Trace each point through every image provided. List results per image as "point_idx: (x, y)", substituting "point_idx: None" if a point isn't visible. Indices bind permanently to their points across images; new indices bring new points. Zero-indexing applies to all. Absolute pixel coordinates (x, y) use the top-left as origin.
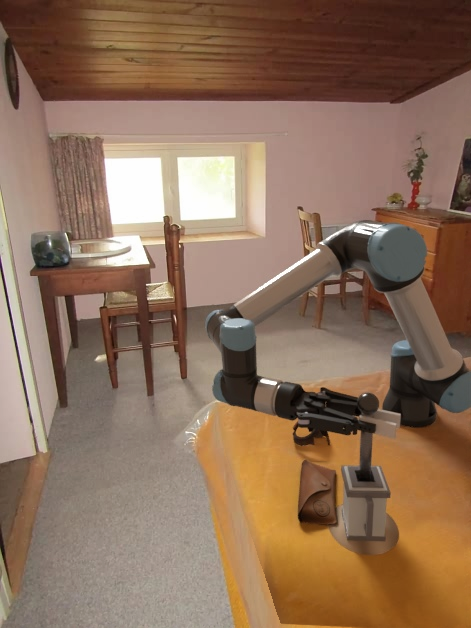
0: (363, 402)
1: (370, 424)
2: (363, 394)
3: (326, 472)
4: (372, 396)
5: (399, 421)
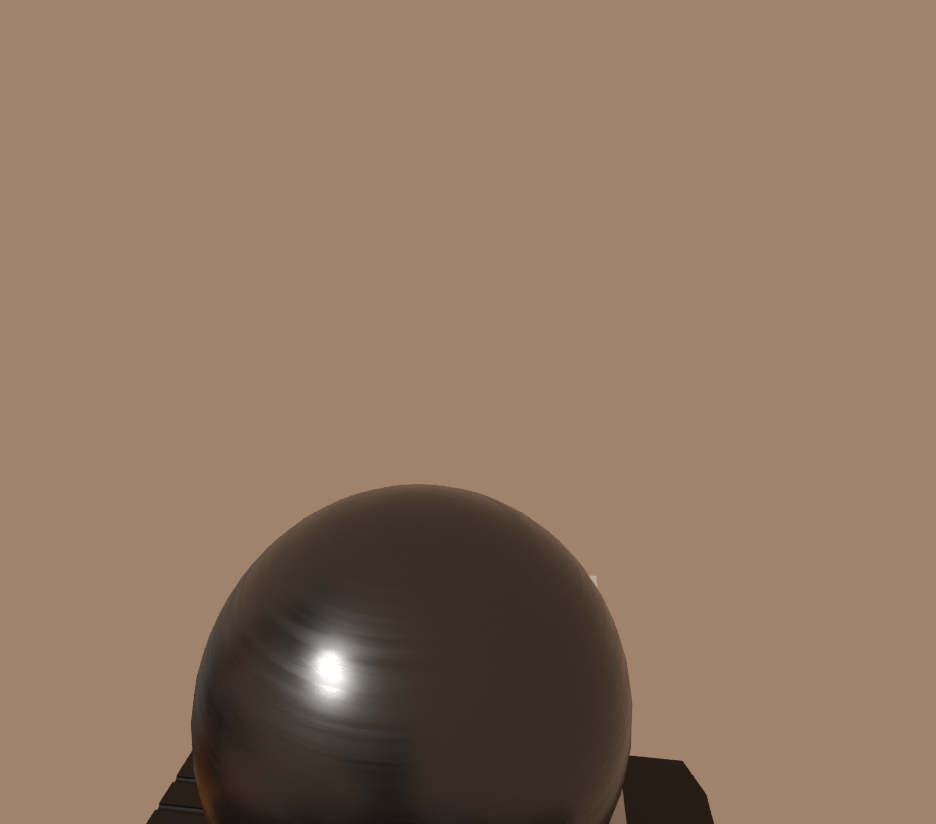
0: (613, 653)
1: (661, 815)
2: (437, 578)
3: None
4: (461, 491)
5: None
